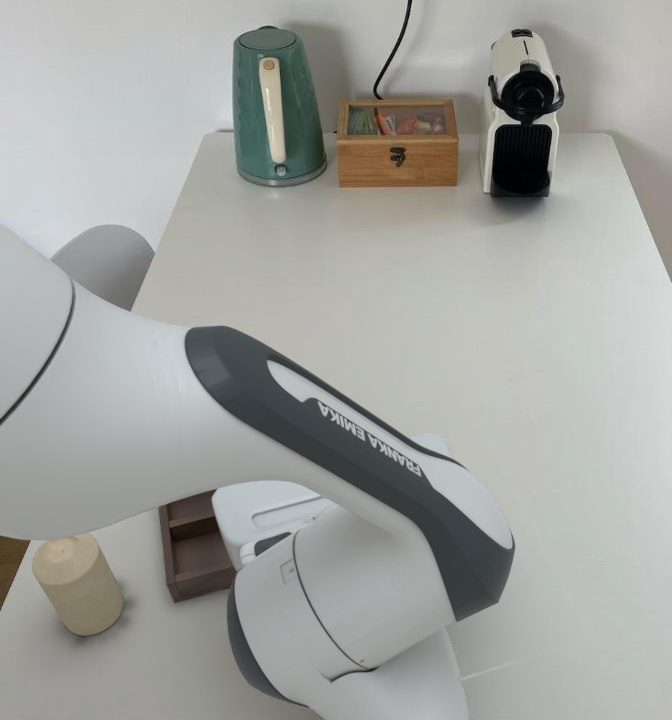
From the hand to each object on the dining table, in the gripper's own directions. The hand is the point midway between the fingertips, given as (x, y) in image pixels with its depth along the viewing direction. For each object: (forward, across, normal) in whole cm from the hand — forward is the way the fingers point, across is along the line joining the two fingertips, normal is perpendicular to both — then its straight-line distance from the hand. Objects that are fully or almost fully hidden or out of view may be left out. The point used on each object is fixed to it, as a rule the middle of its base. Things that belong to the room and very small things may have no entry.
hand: (318, 431), depth 72 cm
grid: (+2, +6, +13) cm, 15 cm away
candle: (-3, +23, +14) cm, 27 cm away
